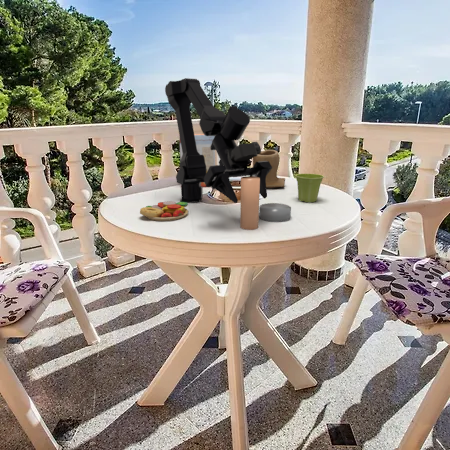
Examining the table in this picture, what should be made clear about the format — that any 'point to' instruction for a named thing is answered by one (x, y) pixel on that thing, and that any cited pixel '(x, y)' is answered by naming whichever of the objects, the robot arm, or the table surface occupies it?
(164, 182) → the table surface
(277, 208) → the coaster
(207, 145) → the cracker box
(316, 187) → the plant pot
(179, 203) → the toy food set
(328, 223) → the table surface
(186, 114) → the robot arm
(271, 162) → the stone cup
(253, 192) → the candle
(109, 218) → the table surface
